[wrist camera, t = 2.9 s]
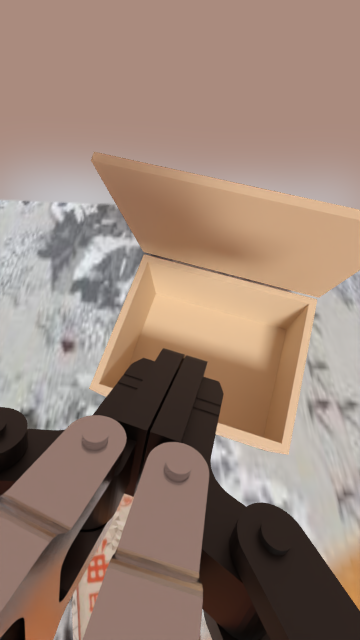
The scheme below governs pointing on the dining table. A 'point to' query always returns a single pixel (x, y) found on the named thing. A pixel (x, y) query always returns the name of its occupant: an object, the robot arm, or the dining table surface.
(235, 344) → the mailer box
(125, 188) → the lid
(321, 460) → the dining table surface
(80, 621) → the packaged product
